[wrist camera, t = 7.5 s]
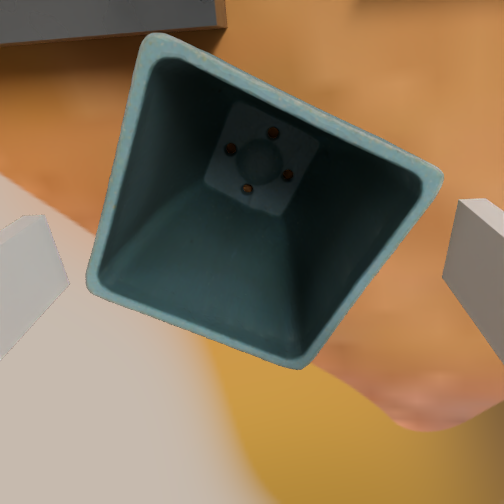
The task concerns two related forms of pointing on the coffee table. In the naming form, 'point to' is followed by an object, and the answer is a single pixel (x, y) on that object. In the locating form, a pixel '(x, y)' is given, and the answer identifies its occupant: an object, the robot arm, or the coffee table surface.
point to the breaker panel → (103, 19)
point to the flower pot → (246, 207)
